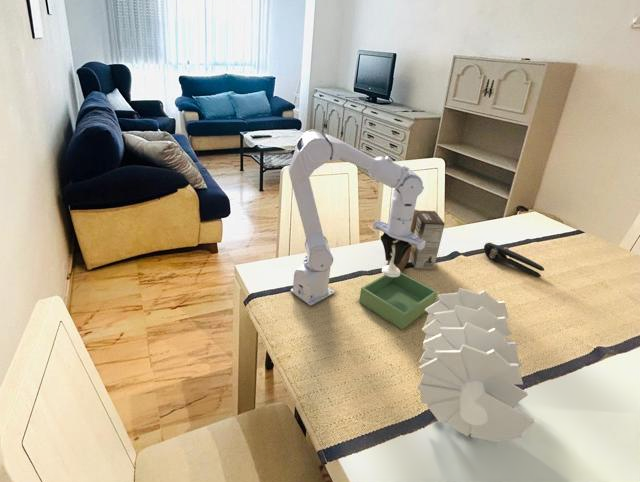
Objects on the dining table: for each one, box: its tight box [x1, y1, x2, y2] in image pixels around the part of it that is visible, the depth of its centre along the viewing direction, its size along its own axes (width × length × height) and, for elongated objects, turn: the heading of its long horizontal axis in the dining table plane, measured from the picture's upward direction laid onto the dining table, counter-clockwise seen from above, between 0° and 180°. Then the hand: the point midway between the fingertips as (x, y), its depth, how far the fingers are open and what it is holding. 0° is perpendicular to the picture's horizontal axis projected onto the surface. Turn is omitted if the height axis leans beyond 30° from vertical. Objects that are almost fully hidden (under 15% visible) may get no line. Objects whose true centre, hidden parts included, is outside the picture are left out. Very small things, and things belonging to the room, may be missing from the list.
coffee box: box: [409, 210, 446, 270], centre depth 120 cm, size 9×6×16 cm
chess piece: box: [381, 239, 400, 277], centre depth 103 cm, size 5×5×10 cm
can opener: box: [483, 242, 545, 278], centre depth 123 cm, size 18×7×6 cm, turn 41°
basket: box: [358, 272, 438, 330], centre depth 102 cm, size 15×13×4 cm
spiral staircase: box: [416, 287, 536, 443], centre depth 74 cm, size 18×18×25 cm
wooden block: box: [386, 209, 420, 273], centre depth 117 cm, size 9×4×18 cm, turn 148°
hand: (392, 261), depth 103 cm, fingers closed on chess piece
